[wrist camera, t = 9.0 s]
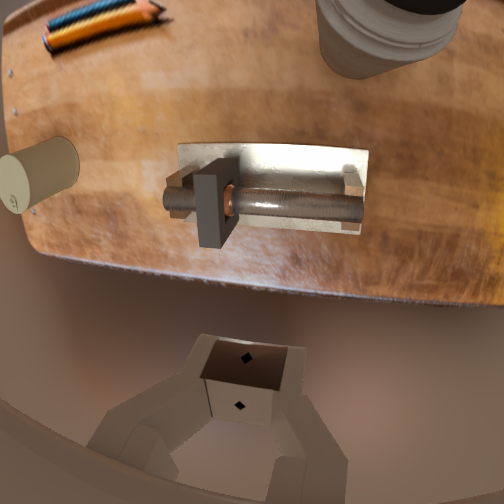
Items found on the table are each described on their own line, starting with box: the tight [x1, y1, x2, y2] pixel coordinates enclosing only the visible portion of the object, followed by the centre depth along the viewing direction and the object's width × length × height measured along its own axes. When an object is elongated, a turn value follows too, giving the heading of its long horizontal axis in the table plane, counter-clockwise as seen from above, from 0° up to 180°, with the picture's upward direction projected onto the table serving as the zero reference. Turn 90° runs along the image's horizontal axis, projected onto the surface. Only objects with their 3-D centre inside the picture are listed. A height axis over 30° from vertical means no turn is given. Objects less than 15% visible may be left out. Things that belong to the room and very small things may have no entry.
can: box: [0, 137, 79, 214], centre depth 40 cm, size 9×9×12 cm
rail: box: [163, 143, 369, 235], centre depth 37 cm, size 24×11×8 cm, turn 91°
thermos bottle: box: [315, 0, 466, 79], centre depth 18 cm, size 8×8×28 cm
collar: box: [193, 158, 239, 249], centre depth 36 cm, size 2×8×8 cm, turn 2°
